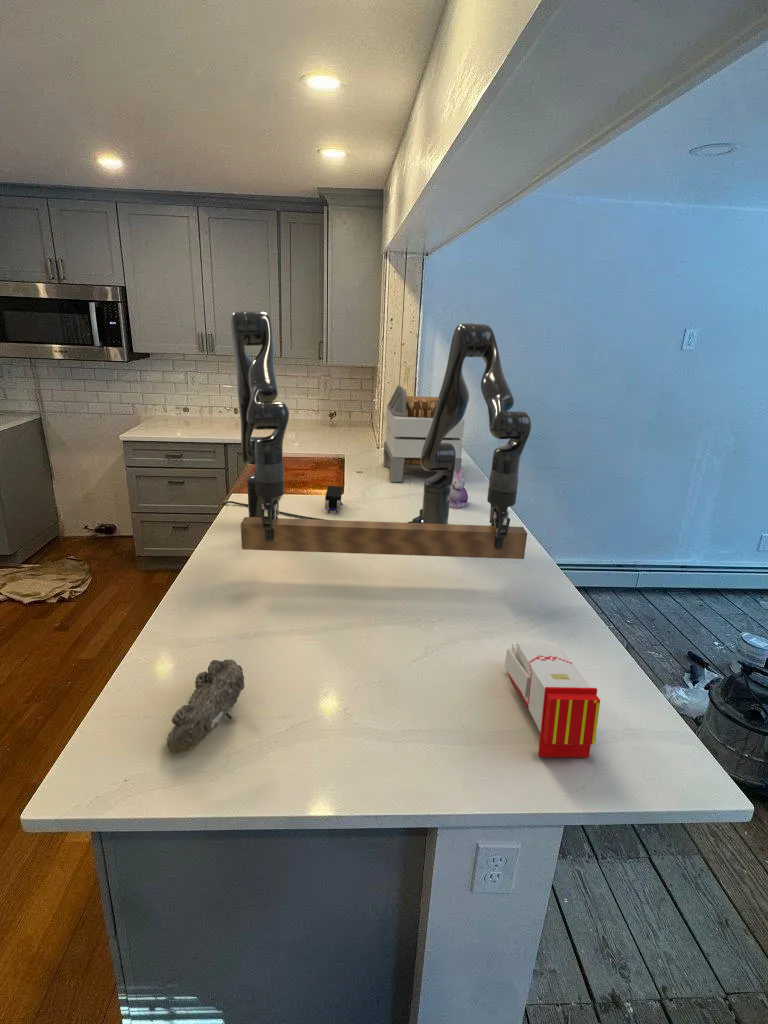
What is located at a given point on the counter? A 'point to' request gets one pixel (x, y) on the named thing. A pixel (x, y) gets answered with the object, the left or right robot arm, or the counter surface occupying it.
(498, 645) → the counter surface
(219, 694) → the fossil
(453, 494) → the figurine
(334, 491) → the figurine character
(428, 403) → the transformer
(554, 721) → the toy
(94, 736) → the counter surface
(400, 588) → the counter surface
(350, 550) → the post
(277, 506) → the left robot arm
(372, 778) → the counter surface
